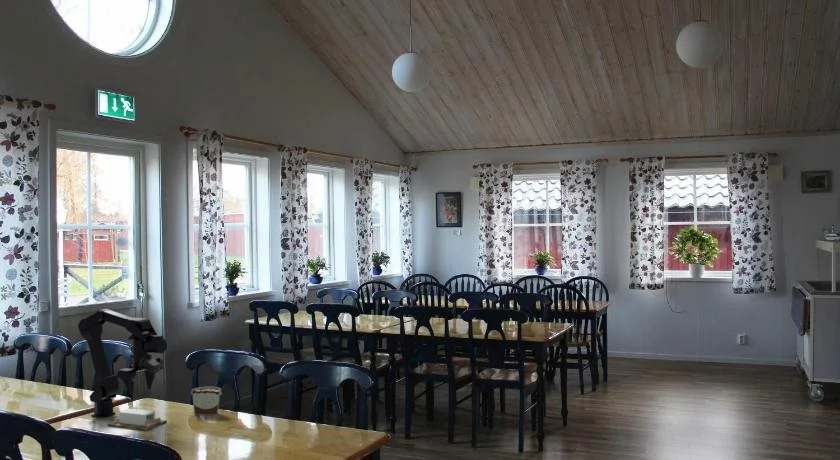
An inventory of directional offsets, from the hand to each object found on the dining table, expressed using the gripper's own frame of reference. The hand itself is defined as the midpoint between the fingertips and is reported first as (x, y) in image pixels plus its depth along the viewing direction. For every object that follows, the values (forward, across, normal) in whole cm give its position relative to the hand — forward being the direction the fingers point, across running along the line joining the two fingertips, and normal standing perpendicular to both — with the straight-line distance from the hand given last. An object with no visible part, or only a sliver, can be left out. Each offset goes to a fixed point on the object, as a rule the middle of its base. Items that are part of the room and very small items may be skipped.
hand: (140, 391), depth 266 cm
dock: (+11, -6, -4) cm, 13 cm away
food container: (+11, +17, -19) cm, 28 cm away
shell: (+10, -6, -4) cm, 12 cm away
